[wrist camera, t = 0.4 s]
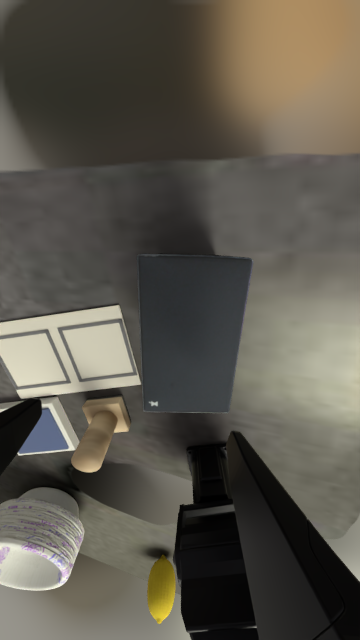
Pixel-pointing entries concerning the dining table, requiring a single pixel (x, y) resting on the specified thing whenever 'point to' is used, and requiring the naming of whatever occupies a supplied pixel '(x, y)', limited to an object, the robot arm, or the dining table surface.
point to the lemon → (161, 589)
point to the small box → (190, 329)
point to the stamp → (100, 430)
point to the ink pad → (48, 429)
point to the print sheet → (68, 352)
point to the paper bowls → (39, 539)
